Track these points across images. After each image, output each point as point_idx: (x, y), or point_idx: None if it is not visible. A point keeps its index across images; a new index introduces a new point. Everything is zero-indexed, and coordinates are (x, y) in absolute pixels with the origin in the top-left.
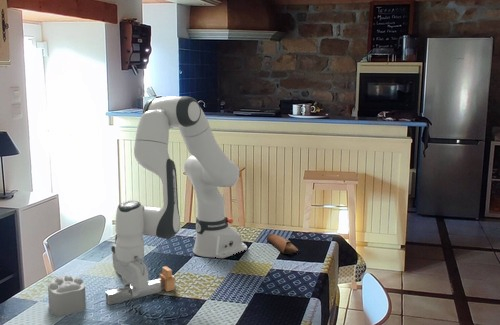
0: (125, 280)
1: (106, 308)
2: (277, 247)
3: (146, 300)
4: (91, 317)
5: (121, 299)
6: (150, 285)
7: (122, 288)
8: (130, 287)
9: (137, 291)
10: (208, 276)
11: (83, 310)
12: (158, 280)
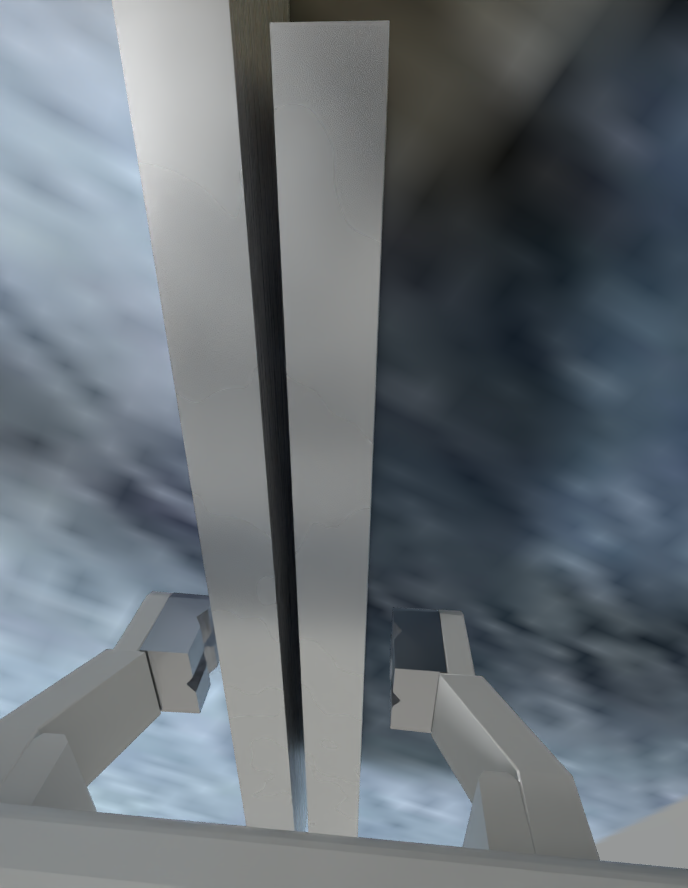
0: (99, 751)
1: (402, 777)
2: None
3: (509, 456)
4: None
5: (363, 695)
6: (373, 373)
7: (267, 762)
8: (284, 683)
9: (470, 658)
10: None
11: None
12: (233, 33)
